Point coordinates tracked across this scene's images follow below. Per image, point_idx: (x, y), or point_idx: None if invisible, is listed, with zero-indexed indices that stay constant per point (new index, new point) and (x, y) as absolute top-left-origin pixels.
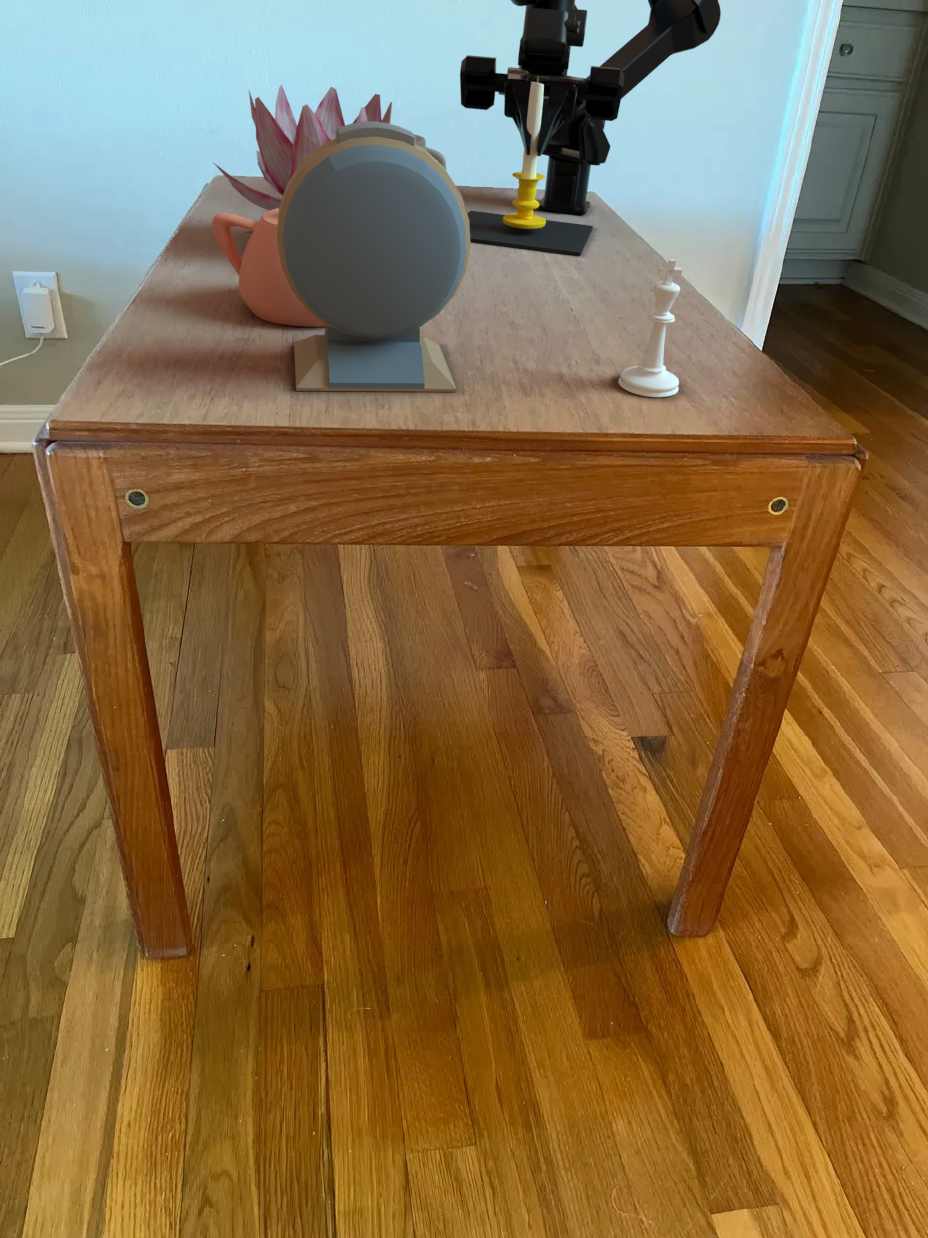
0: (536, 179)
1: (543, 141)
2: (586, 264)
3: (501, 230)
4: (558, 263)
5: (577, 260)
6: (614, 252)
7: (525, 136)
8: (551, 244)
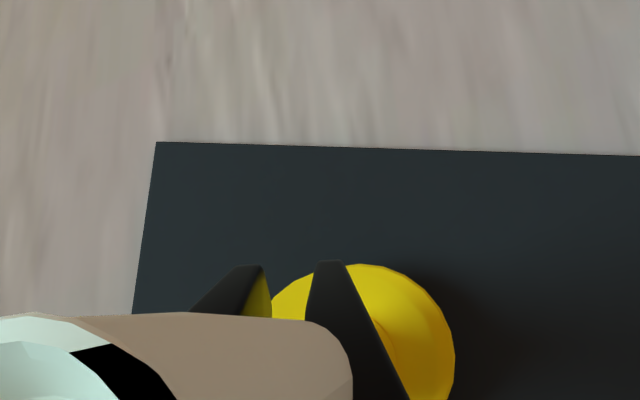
0: (290, 285)
1: (208, 296)
2: (145, 64)
3: (449, 324)
4: (226, 36)
5: (170, 94)
6: (51, 243)
7: (357, 307)
8: (250, 200)
